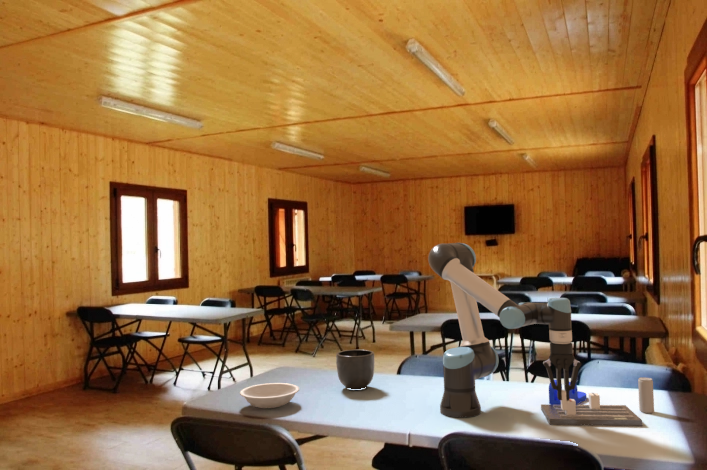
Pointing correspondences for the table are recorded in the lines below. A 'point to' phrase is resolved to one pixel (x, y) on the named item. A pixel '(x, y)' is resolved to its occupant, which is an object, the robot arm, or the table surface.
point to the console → (592, 416)
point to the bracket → (573, 394)
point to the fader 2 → (594, 401)
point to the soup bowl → (269, 394)
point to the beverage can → (646, 395)
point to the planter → (355, 368)
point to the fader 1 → (571, 407)
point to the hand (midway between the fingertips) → (563, 409)
